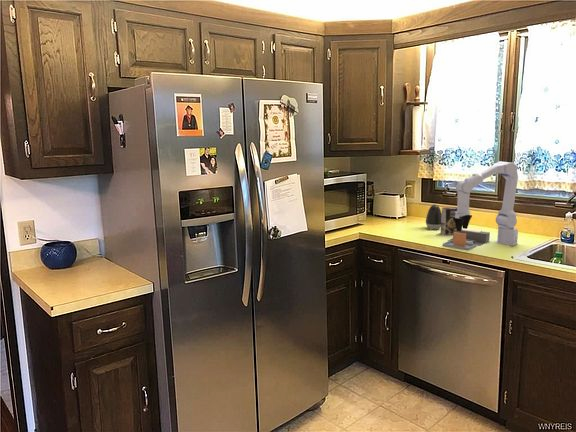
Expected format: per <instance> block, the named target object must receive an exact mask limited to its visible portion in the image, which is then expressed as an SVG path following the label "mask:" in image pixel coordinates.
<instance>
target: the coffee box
mask: <svg viewBox="0 0 576 432" xmlns="http://www.w3.org/2000/svg"><path fill="white" fill-rule="evenodd" d="M455 212H457V207H456V206H455V207H454V206H452V207H451V206H450V207H449V206H448V207H442V208H441V213H442V216H441V227H440V234H441V235H443V236H454V229H456V225H455V222H454V220H453V217H455V214H456V213H455Z"/></svg>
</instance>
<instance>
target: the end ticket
mask: <svg viewBox="0 0 576 432" xmlns="http://www.w3.org/2000/svg"><path fill="white" fill-rule="evenodd" d="M453 236H454V239H453V238H452V239H453V245H455V246H462V247H466V234H465V233H457V232H454V235H453Z"/></svg>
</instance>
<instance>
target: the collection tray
mask: <svg viewBox="0 0 576 432" xmlns="http://www.w3.org/2000/svg"><path fill="white" fill-rule="evenodd" d="M449 240H450V239H449ZM442 247H447V248H451V249H453V248H454V249H457V250H463V251H470V250H472V249H474V248H476V247H478V246H477V244H472V243H466V247H462V246H455V245H453V240H450V241H448V240H447V241H446V242H443V243H442Z"/></svg>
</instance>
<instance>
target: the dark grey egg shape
mask: <svg viewBox="0 0 576 432" xmlns="http://www.w3.org/2000/svg"><path fill="white" fill-rule="evenodd" d="M441 216H442V209H441V208H440V206H439V205H438V204H432V205H431V206H429V208H428V211H427V213H426V218H425V224H426V227H427V228H428V229H430V230H439V229H441Z"/></svg>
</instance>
